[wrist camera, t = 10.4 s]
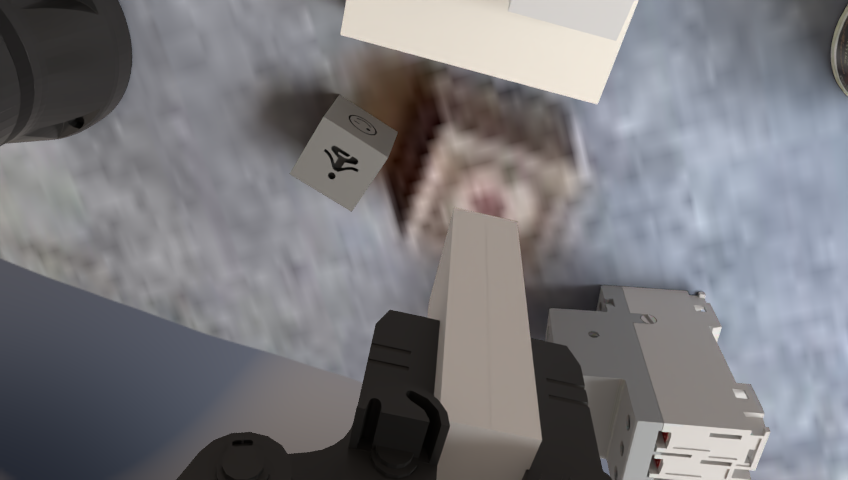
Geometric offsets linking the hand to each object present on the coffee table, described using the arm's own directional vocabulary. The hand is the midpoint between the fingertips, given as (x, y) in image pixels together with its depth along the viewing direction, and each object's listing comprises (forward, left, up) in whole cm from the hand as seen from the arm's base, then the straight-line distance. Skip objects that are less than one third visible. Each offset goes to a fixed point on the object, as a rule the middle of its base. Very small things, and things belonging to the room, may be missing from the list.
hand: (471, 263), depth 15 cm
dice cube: (-7, -11, -32) cm, 35 cm away
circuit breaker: (+17, -21, -32) cm, 42 cm away
